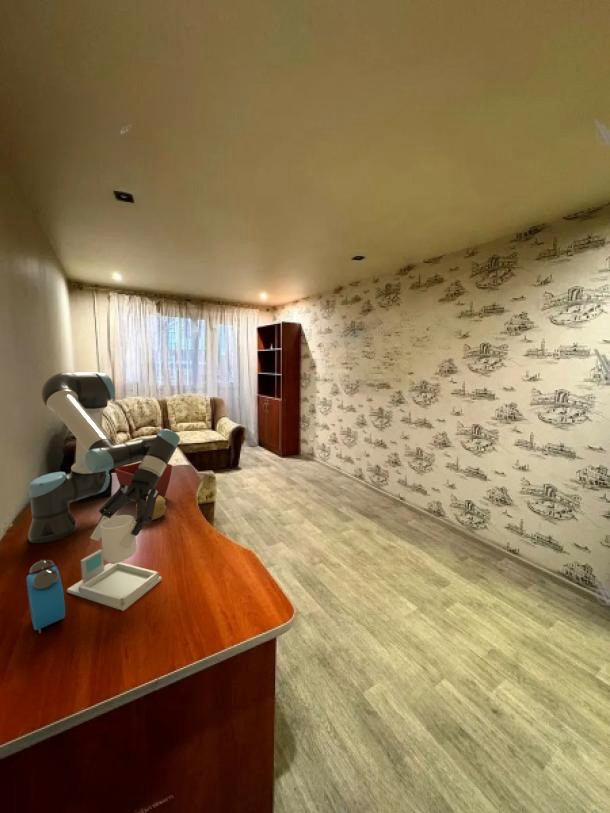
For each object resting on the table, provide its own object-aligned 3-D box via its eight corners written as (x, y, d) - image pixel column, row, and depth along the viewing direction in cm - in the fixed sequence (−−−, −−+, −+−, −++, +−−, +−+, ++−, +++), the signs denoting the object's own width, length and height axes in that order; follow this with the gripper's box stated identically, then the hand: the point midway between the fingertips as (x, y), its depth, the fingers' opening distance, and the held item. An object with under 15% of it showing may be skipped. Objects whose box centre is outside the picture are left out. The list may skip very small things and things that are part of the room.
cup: (108, 567, 85) (105, 531, 84) (96, 550, 94) (93, 518, 92) (141, 553, 91) (138, 520, 90) (126, 539, 100) (124, 508, 98)
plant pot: (175, 496, 161) (173, 464, 159) (138, 510, 145) (135, 475, 143) (153, 489, 172) (151, 459, 170) (116, 502, 156) (113, 468, 154)
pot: (133, 517, 139) (132, 495, 137) (161, 509, 146) (160, 488, 145) (140, 527, 130) (139, 503, 129) (170, 518, 137) (168, 496, 136)
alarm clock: (30, 614, 83) (23, 560, 82) (59, 601, 88) (54, 550, 86) (36, 643, 74) (29, 584, 73) (68, 627, 79) (62, 571, 77)
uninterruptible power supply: (109, 479, 190) (106, 446, 187) (114, 497, 162) (110, 459, 160) (75, 485, 180) (72, 451, 178) (74, 505, 153) (70, 465, 150)
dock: (67, 592, 92) (64, 566, 91) (109, 565, 104) (107, 542, 103) (123, 610, 84) (121, 582, 83) (161, 579, 96) (159, 555, 95)
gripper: (184, 482, 101) (149, 554, 88) (129, 474, 109) (89, 540, 96) (171, 471, 95) (132, 546, 83) (113, 464, 103) (69, 532, 91)
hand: (109, 543), depth 89 cm, fingers closed on cup, 11 cm apart
